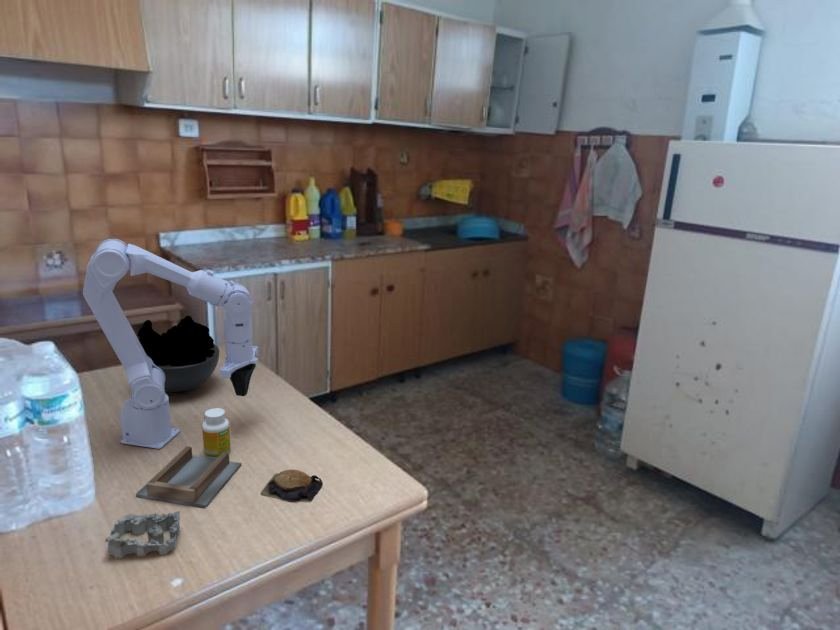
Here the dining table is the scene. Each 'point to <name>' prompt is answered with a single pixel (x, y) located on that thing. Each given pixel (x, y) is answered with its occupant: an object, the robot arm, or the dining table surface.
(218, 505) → the dining table surface
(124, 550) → the egg carton
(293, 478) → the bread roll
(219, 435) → the supplement bottle
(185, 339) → the bowl of black rocks
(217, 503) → the dining table surface
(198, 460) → the cradle
